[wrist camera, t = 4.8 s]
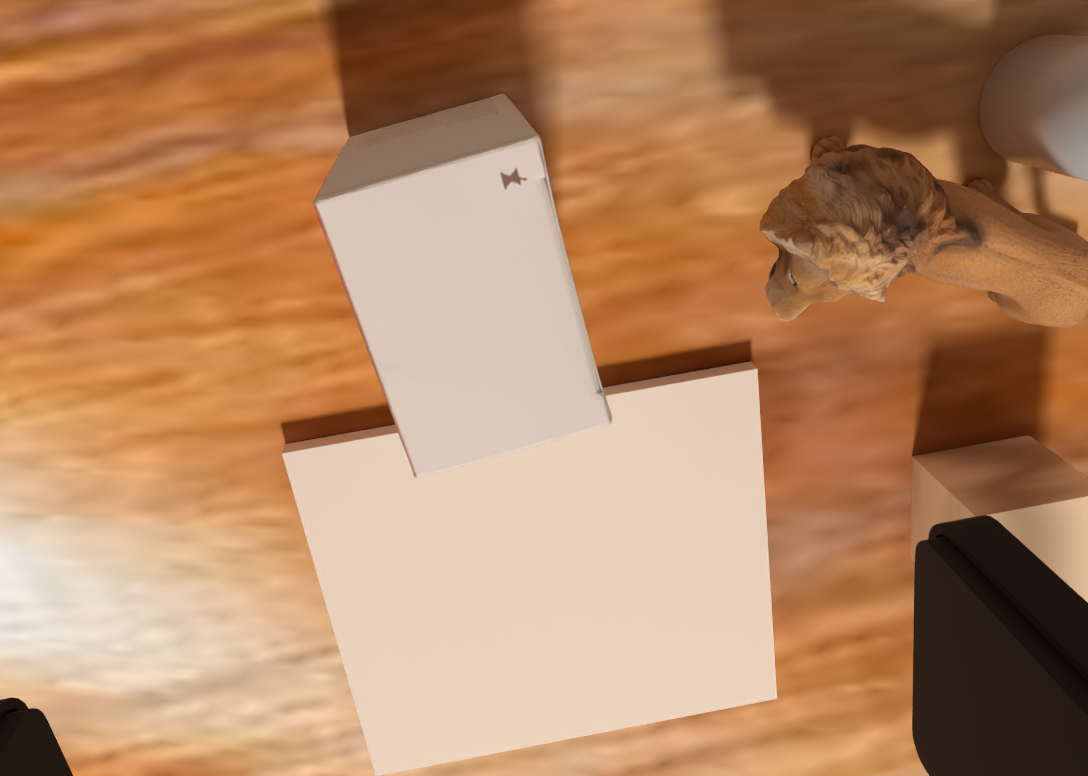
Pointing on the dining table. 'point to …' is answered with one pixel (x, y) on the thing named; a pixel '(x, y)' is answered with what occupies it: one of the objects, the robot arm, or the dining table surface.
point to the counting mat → (549, 575)
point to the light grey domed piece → (1040, 105)
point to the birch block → (1008, 499)
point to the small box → (462, 285)
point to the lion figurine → (915, 238)
